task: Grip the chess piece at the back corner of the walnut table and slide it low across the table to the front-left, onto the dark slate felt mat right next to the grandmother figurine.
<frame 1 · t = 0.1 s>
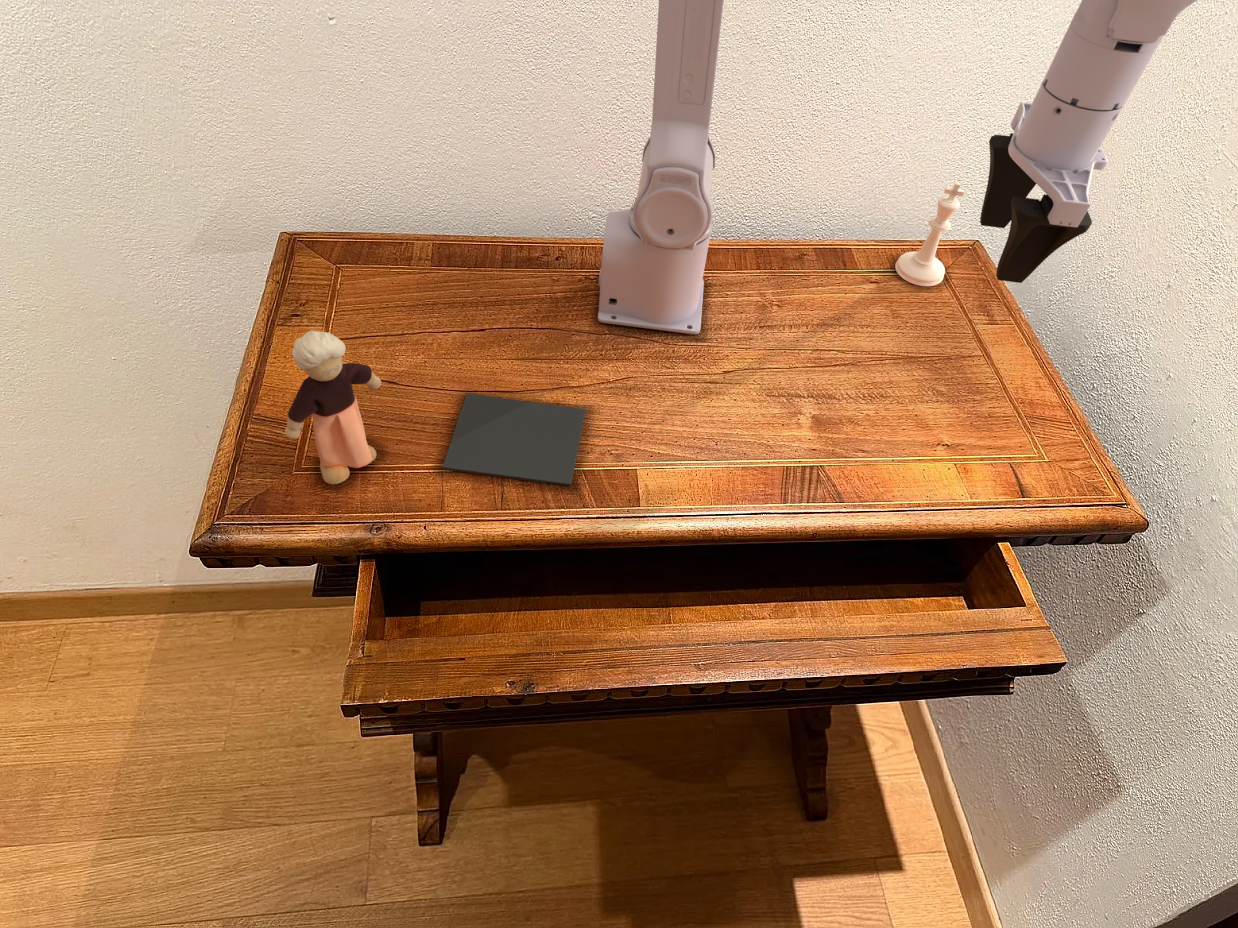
hand: (1000, 251, 67), 10 cm above the table, tool pointing down, fingers open, 7 cm apart
chess piece: (918, 273, 82), on the table
felt mat: (516, 439, 64), on the table
grandmother figurine: (353, 460, 62), on the table
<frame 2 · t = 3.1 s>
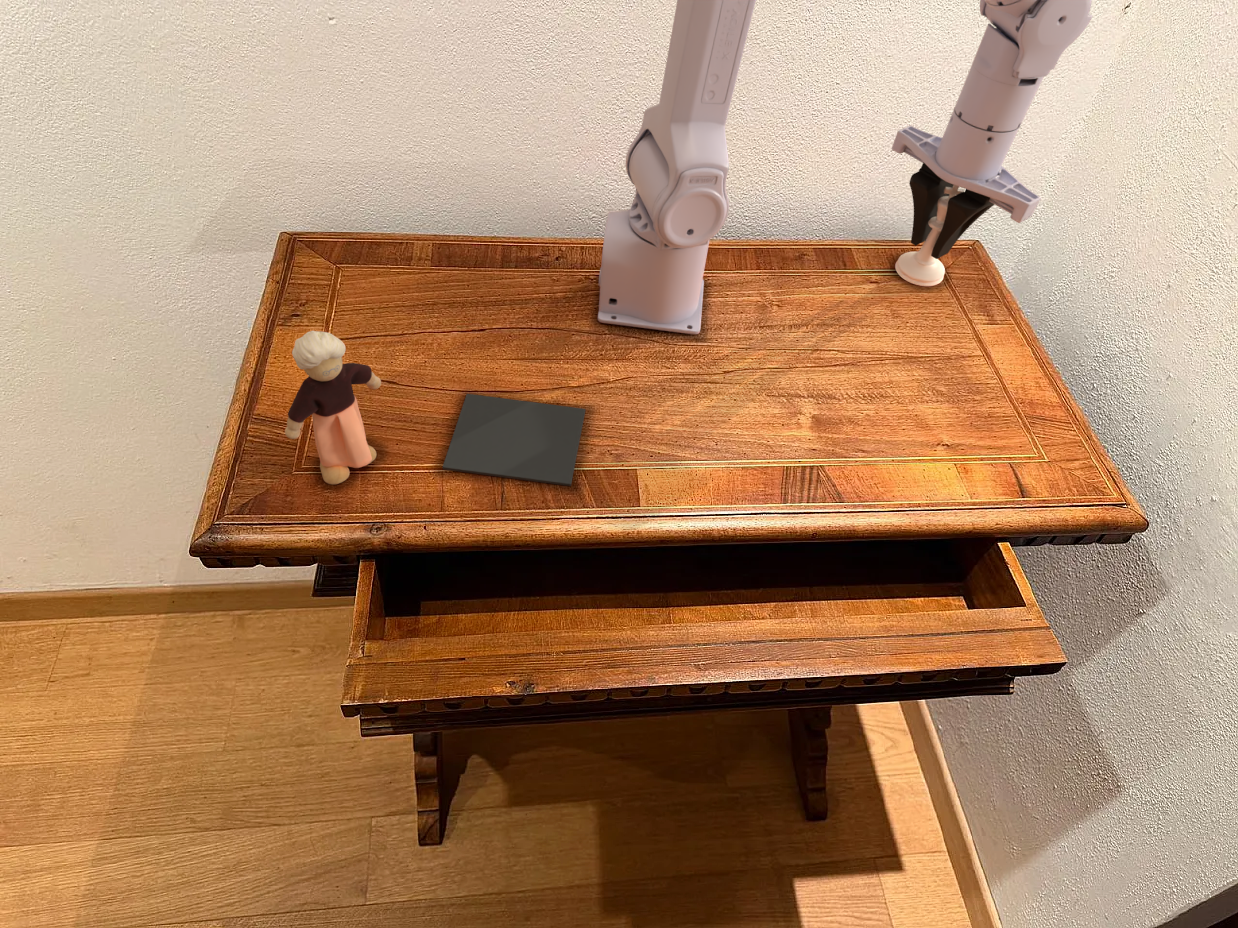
hand: (929, 247, 79), 3 cm above the table, tool pointing down, fingers closed on chess piece
chess piece: (918, 273, 82), on the table, touching gripper
everything else where it was.
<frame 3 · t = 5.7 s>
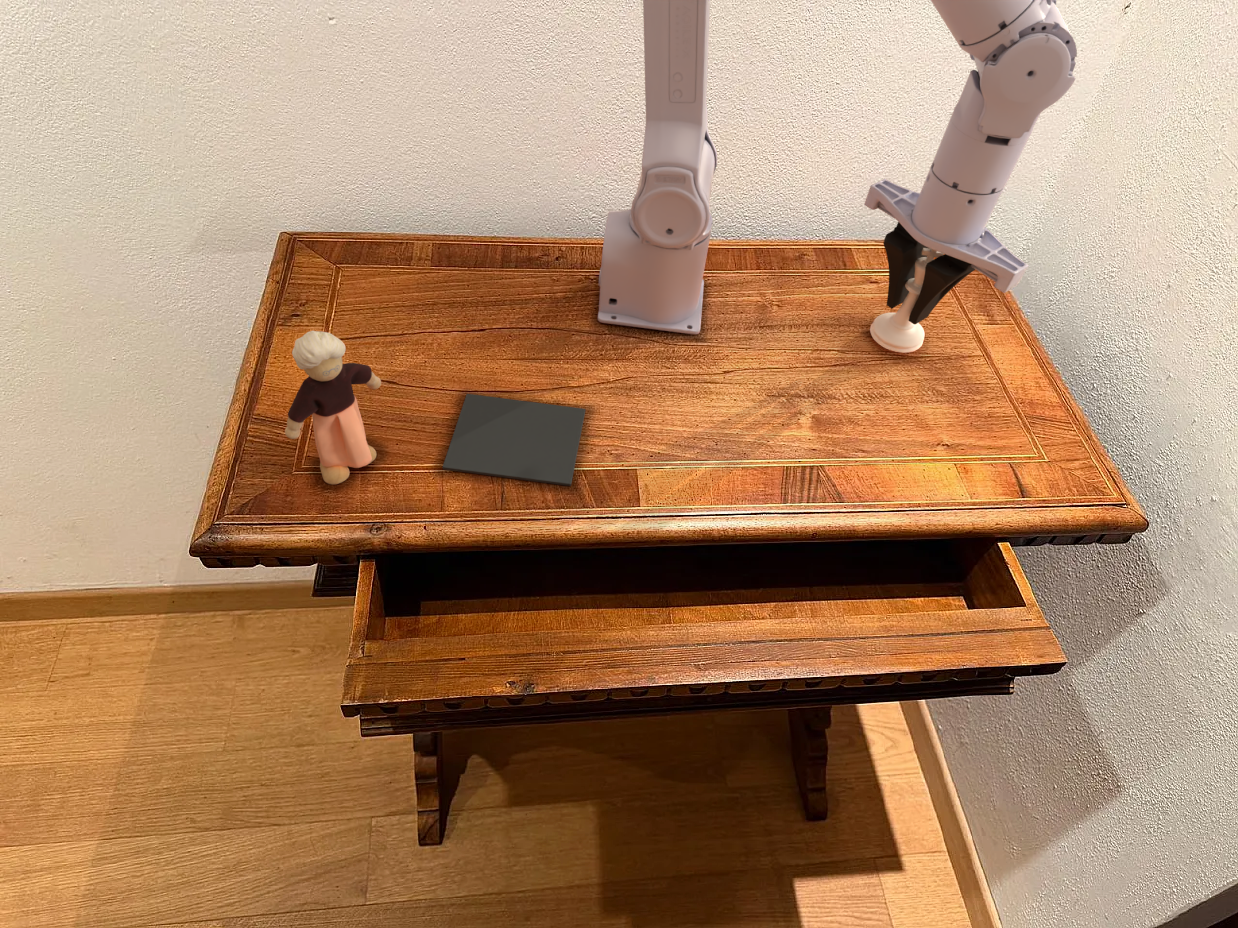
hand: (907, 311, 72), 3 cm above the table, tool pointing down, fingers closed on chess piece
chess piece: (895, 336, 74), on the table, touching gripper
everything else where it was.
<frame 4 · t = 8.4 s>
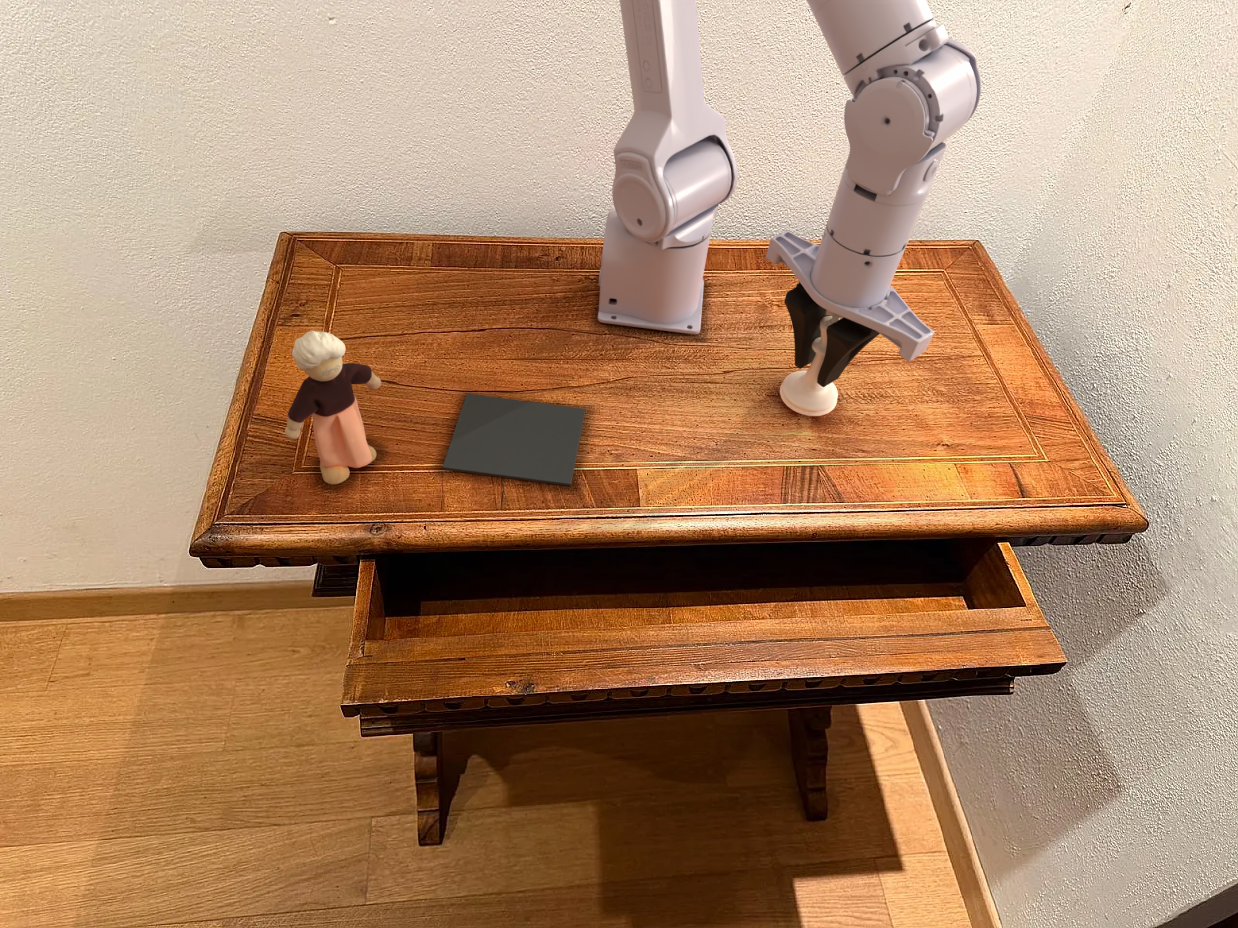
hand: (816, 371, 66), 3 cm above the table, tool pointing down, fingers closed on chess piece
chess piece: (807, 397, 69), on the table, touching gripper
everything else where it was.
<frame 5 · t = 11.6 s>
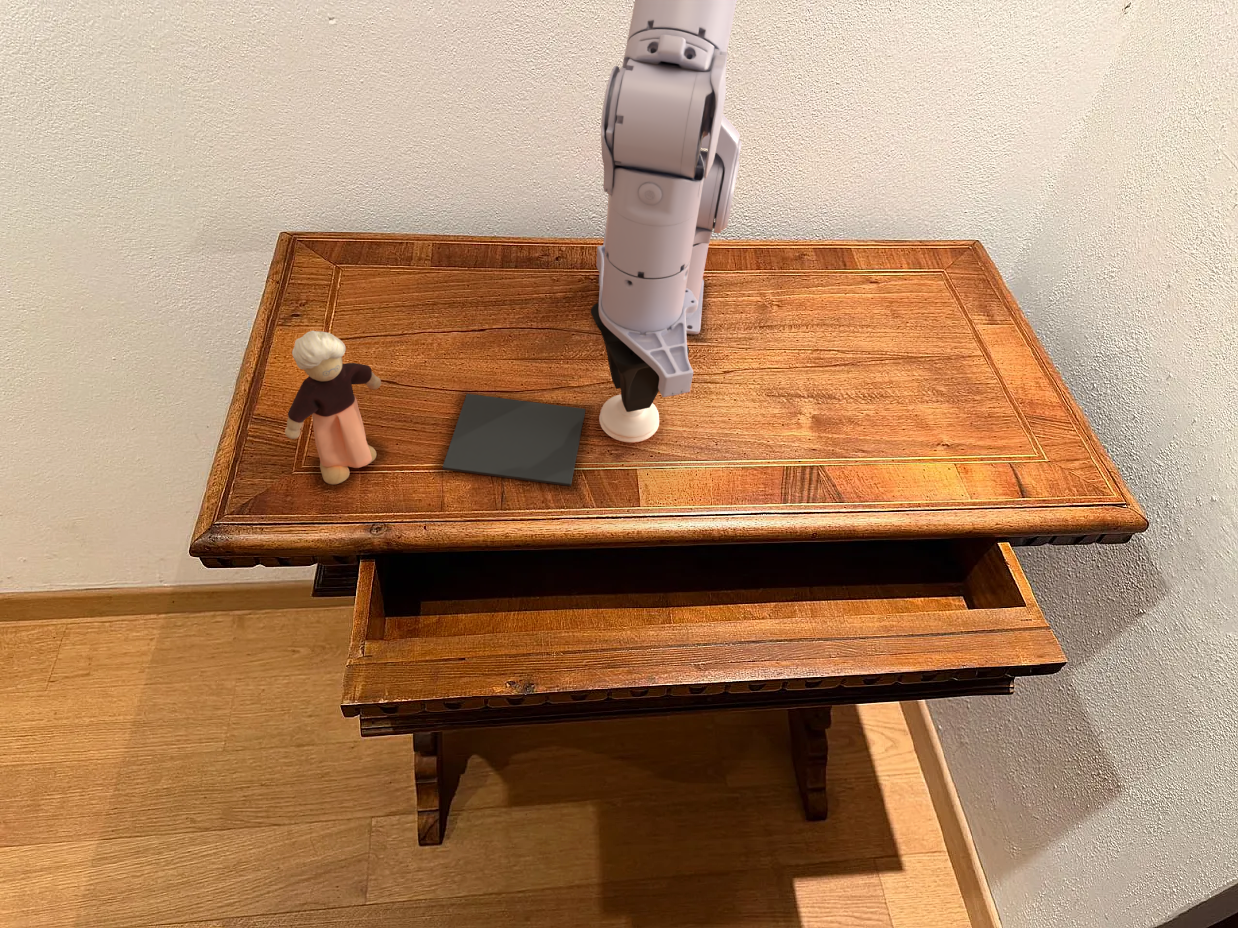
hand: (631, 395, 63), 3 cm above the table, tool pointing down, fingers closed on chess piece
chess piece: (629, 421, 65), on the table, touching gripper
everything else where it was.
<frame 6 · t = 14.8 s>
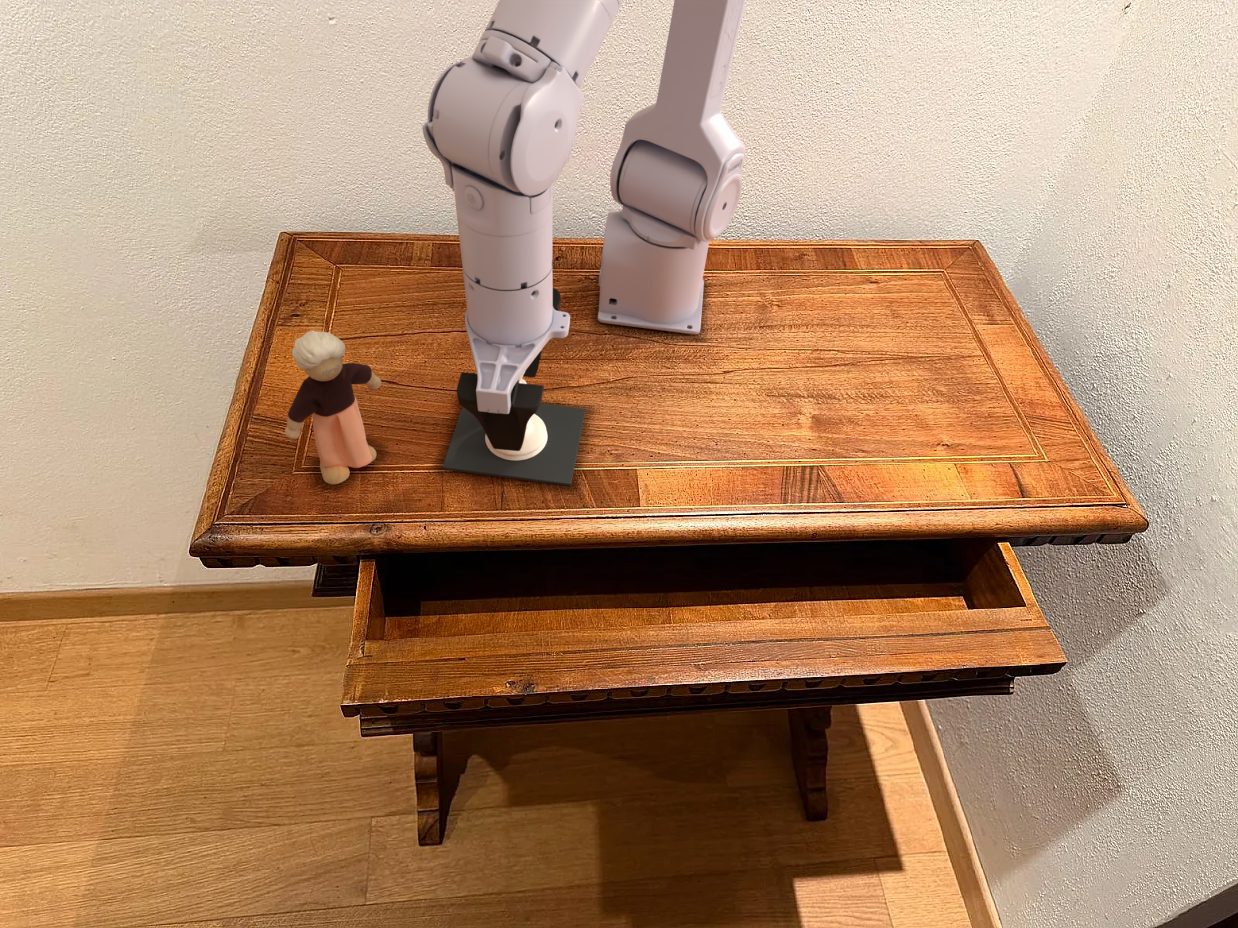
hand: (515, 408, 61), 4 cm above the table, tool pointing down, fingers open, 7 cm apart
chess piece: (516, 438, 64), resting on felt mat
everything else where it was.
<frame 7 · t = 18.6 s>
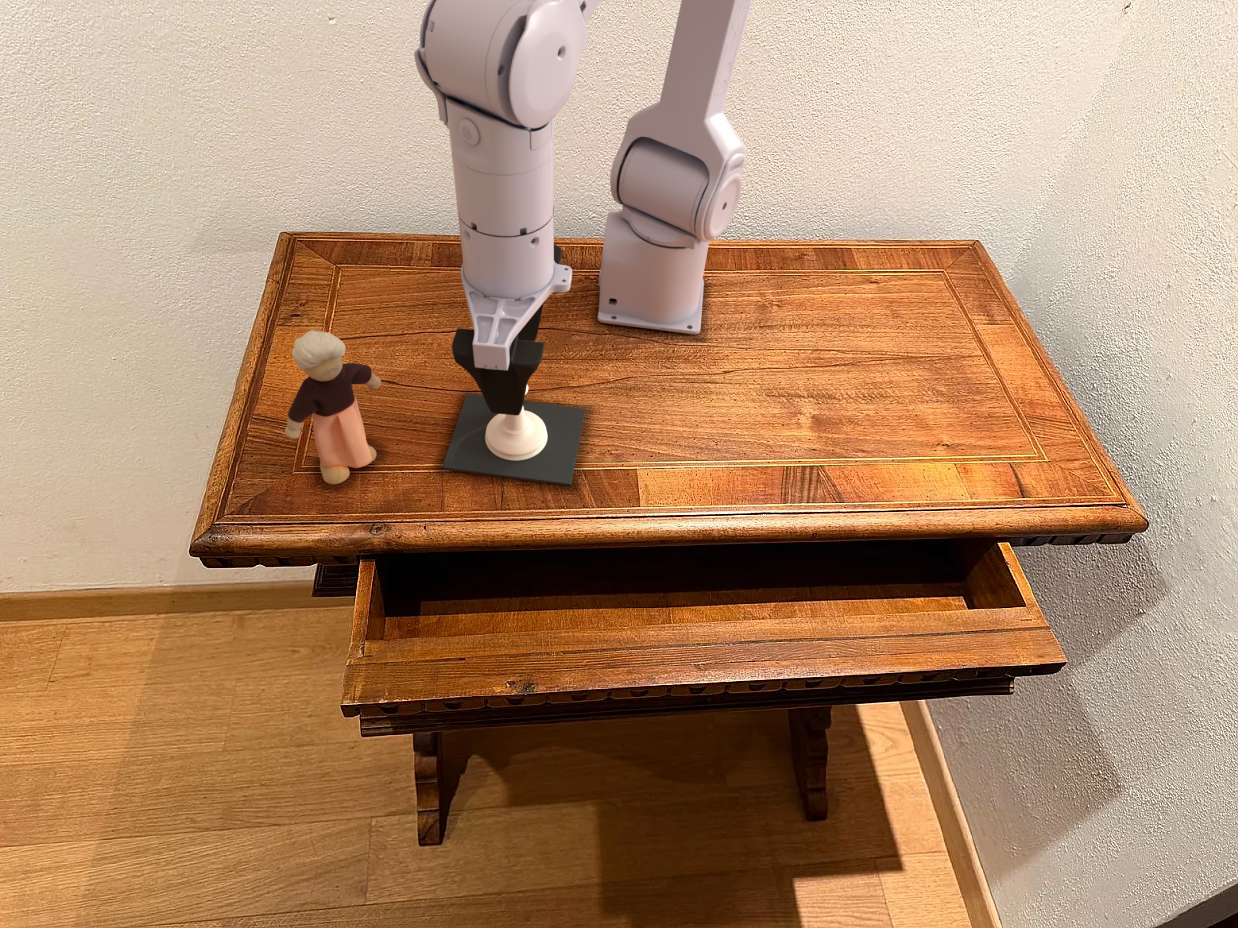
hand: (514, 372, 58), 7 cm above the table, tool pointing down, fingers open, 7 cm apart
nothing on the table moved.
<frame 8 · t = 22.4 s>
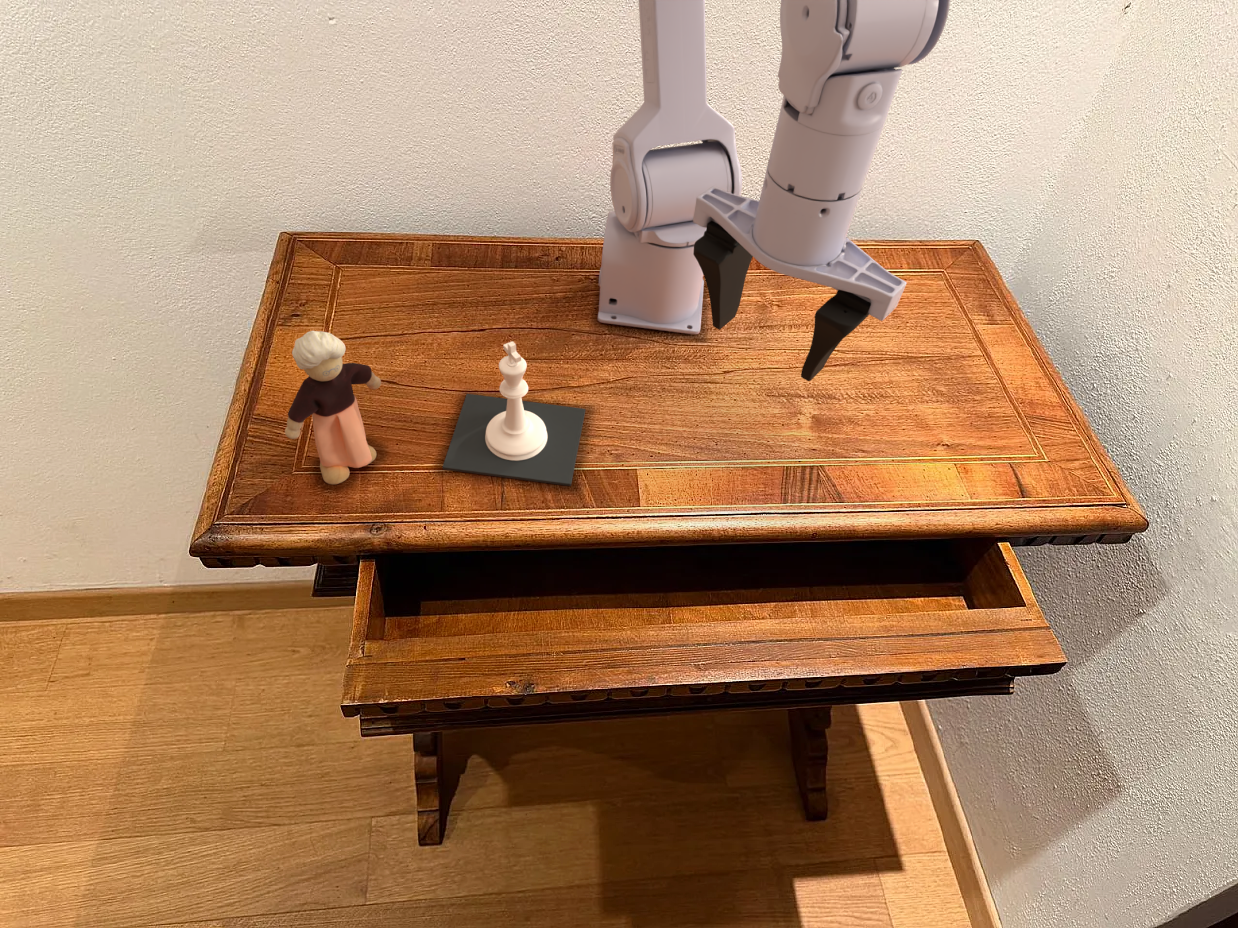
hand: (766, 346, 57), 10 cm above the table, tool pointing down, fingers open, 7 cm apart
nothing on the table moved.
at the end: chess piece inside the target area on the felt mat (0.1 cm from its centre), point 0.1 cm above the felt mat's base; chess piece 12.7 cm from the grandmother figurine (horizontally); chess piece tilted 0° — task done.
